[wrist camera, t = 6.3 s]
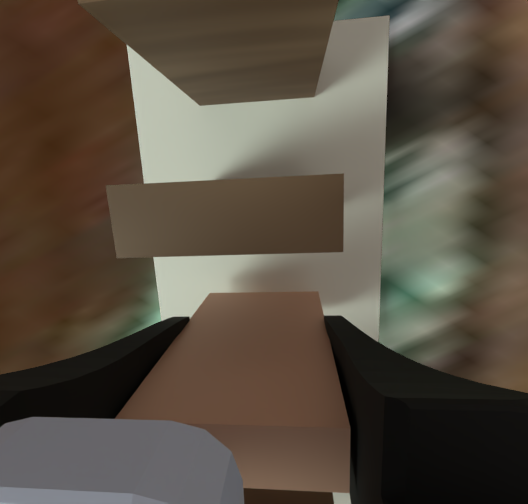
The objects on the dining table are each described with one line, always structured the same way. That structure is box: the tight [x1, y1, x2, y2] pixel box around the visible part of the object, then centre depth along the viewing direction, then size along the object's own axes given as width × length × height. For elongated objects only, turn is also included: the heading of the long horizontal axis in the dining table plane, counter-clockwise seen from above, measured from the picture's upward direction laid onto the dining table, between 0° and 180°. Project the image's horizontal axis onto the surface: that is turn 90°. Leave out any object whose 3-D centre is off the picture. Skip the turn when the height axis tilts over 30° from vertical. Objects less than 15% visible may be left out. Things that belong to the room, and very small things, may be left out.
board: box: [127, 15, 390, 504], centre depth 16 cm, size 25×11×1 cm, turn 3°
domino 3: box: [115, 291, 350, 493], centre depth 10 cm, size 2×5×8 cm, turn 93°
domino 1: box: [78, 0, 339, 106], centre depth 9 cm, size 2×5×8 cm, turn 93°
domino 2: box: [106, 173, 344, 258], centre depth 10 cm, size 2×5×8 cm, turn 93°
